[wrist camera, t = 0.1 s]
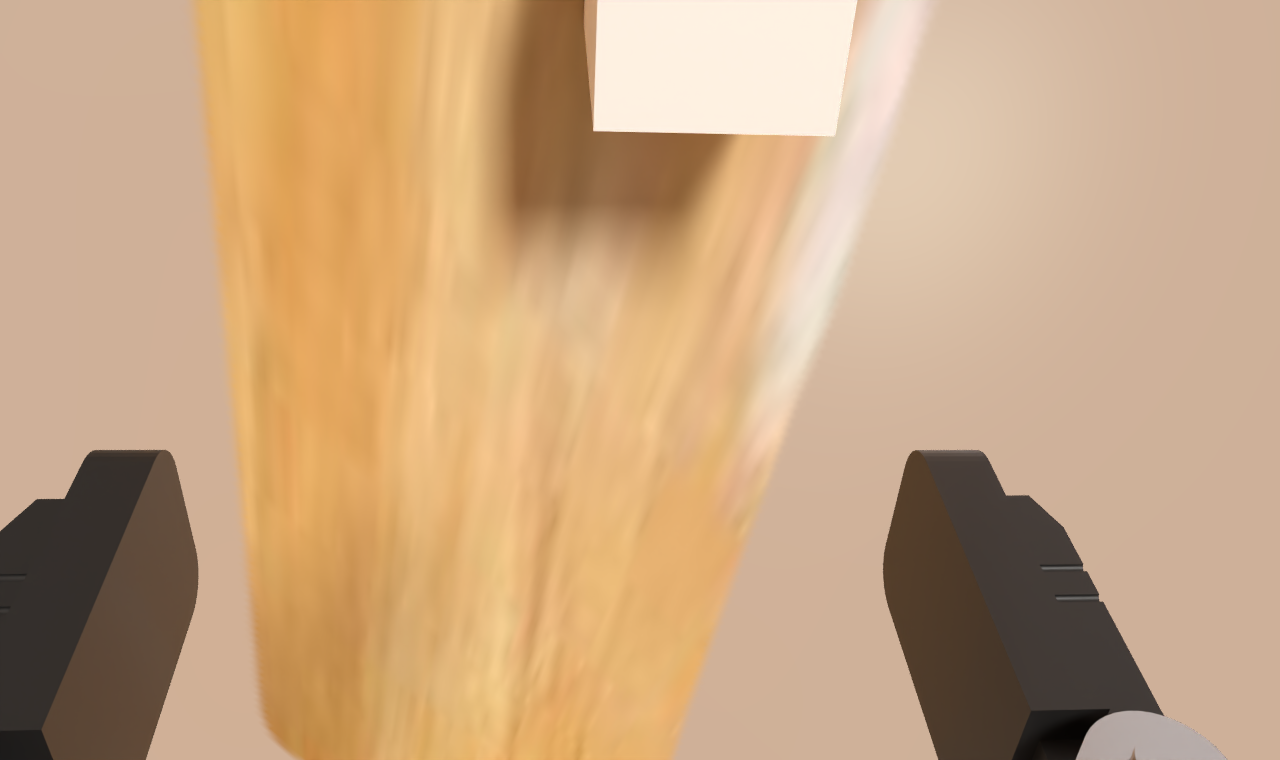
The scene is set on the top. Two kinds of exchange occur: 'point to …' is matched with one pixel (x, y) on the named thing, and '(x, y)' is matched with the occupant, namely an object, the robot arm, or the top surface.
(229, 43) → the top surface
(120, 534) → the robot arm
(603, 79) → the white block
